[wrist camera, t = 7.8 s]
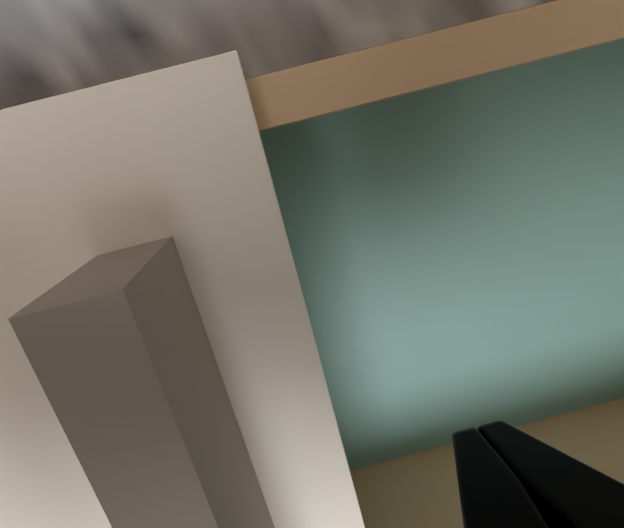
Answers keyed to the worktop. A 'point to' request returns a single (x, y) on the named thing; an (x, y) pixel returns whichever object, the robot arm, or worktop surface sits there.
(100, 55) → the worktop surface
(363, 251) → the box
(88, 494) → the lid
